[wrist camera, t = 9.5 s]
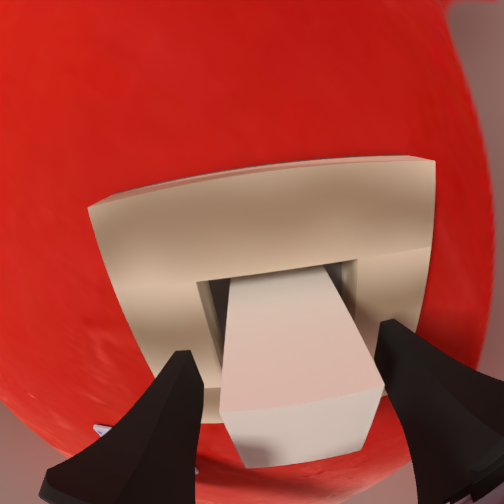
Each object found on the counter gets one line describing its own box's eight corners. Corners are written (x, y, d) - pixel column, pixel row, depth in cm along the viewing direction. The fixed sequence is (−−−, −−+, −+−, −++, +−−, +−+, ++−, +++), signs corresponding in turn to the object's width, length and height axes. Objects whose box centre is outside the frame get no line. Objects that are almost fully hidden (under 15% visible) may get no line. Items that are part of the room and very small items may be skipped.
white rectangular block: (322, 331, 13) (361, 449, 7) (245, 342, 14) (246, 468, 7) (321, 262, 12) (384, 384, 5) (230, 274, 12) (219, 412, 6)
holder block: (383, 364, 16) (396, 391, 13) (187, 393, 16) (182, 423, 14) (403, 154, 11) (435, 160, 8) (115, 193, 11) (87, 207, 9)
